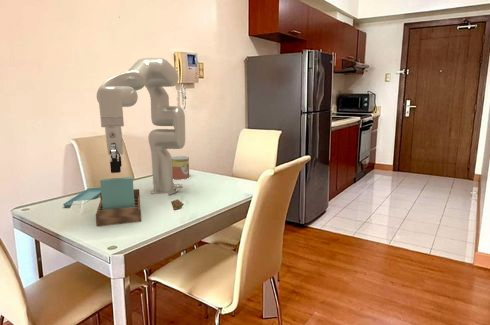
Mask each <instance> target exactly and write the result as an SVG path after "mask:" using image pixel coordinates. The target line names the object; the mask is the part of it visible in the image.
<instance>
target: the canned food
mask: <svg viewBox="0 0 490 325" xmlns="http://www.w3.org/2000/svg"><path fill="white" fill-rule="evenodd" d="M171 158H172V177H173V179H174V180H175V181H182V180H181V179H184V180H188V179H190V178H189V177H190V159H189V158H190V157H189V156H183V155H179V156H178V155H177V156H171ZM187 178H188V179H187ZM174 180H173V181H174Z"/></svg>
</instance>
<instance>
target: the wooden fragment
mask: <svg viewBox="0 0 490 325" xmlns="http://www.w3.org/2000/svg"><path fill="white" fill-rule="evenodd" d="M170 204H171V206H172V209H173V211H174V210H175V211H176V209H177V210H179V209H182V207H183V206H184V205H183V204H184V203H183V202H182V201H181V200H180V199H179V198H178V199H175V200H171V201H170Z"/></svg>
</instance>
